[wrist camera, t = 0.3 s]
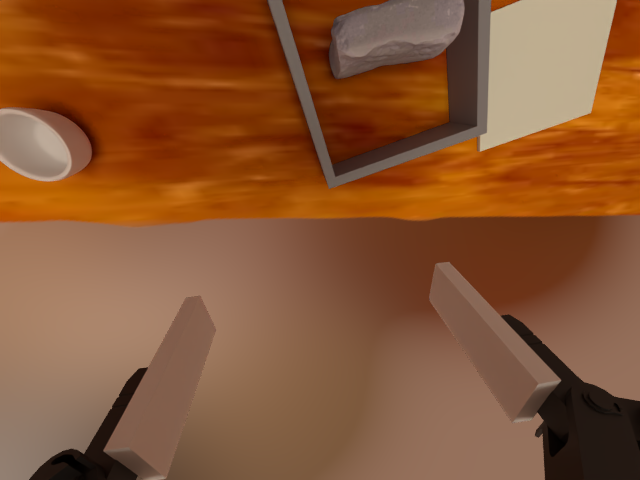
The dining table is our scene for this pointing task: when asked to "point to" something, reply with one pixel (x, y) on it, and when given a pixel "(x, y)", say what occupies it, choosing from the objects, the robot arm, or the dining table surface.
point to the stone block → (393, 34)
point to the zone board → (543, 65)
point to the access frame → (465, 123)
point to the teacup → (42, 144)
